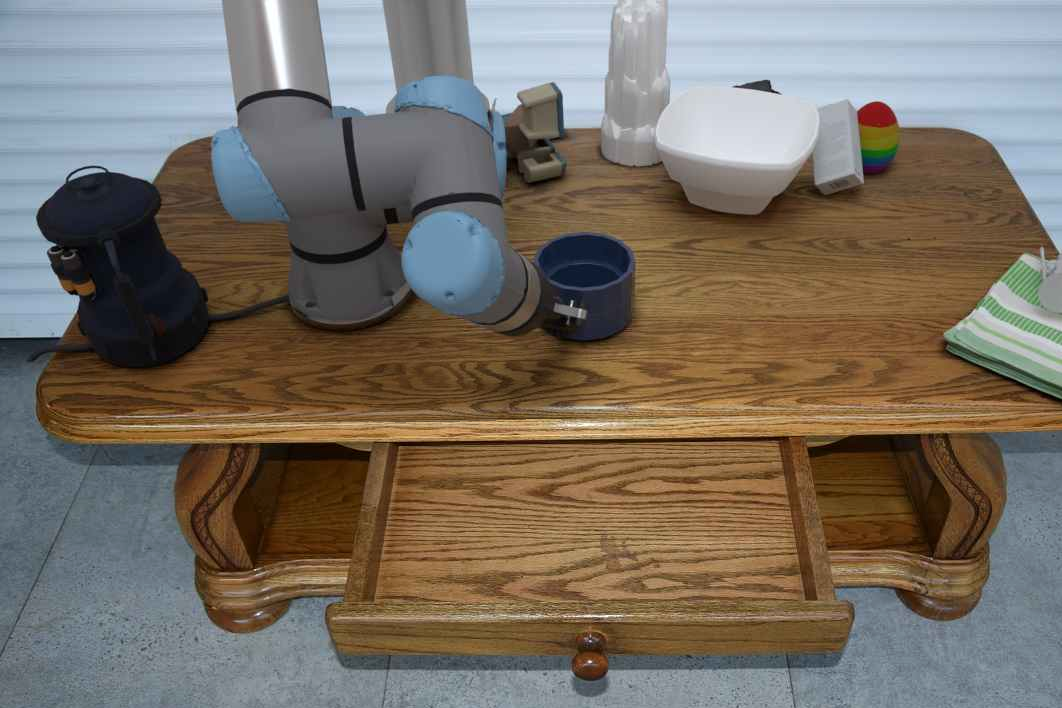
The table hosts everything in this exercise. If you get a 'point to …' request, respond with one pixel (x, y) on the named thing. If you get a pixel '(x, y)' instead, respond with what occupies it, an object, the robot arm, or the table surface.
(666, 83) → the decorative vase
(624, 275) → the glazed bowl
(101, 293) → the dark blue bag
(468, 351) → the table surface
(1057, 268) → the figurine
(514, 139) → the wooden block
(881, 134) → the decorative egg
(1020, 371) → the dish towel
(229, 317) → the robot arm
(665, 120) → the bowl
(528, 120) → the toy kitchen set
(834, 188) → the cosmetic box
